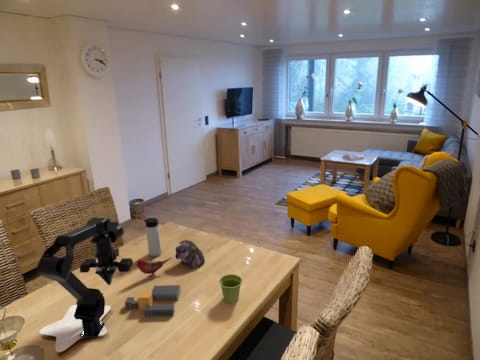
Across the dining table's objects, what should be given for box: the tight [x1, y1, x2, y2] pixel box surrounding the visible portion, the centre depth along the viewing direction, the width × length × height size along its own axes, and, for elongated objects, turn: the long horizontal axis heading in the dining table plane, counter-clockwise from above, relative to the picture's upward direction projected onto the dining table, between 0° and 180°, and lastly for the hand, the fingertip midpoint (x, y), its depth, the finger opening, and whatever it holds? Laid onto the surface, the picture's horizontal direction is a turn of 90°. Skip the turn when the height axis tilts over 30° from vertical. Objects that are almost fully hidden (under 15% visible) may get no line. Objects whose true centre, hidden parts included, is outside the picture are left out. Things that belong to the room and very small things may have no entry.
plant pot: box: [218, 273, 243, 304], centre depth 136 cm, size 9×9×9 cm
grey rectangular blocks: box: [143, 284, 181, 317], centre depth 136 cm, size 16×11×3 cm
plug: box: [124, 290, 154, 311], centre depth 134 cm, size 4×10×6 cm, turn 90°
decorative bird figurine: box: [134, 257, 173, 278], centre depth 155 cm, size 3×18×10 cm, turn 123°
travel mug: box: [144, 217, 162, 258], centre depth 172 cm, size 6×7×20 cm
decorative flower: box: [174, 239, 205, 269], centre depth 164 cm, size 14×12×15 cm
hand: (109, 284), depth 132 cm, fingers closed
